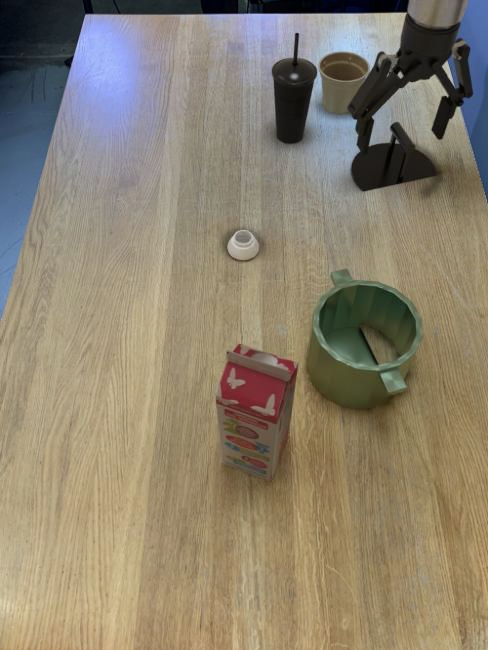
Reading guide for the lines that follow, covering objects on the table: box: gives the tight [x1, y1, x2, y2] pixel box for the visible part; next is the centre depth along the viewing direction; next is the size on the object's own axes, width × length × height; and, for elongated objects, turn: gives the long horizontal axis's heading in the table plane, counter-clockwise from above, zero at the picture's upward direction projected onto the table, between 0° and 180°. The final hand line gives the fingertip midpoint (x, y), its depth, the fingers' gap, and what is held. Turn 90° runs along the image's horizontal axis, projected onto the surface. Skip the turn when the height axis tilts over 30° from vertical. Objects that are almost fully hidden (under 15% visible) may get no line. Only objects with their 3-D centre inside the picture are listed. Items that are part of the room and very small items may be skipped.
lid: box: [350, 121, 438, 192], centre depth 102 cm, size 15×15×9 cm
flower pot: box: [317, 50, 371, 115], centre depth 113 cm, size 9×9×9 cm
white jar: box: [226, 229, 260, 261], centre depth 95 cm, size 5×3×5 cm
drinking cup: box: [271, 32, 318, 145], centre depth 103 cm, size 8×8×20 cm
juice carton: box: [214, 343, 299, 483], centre depth 68 cm, size 7×7×22 cm
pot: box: [305, 268, 424, 410], centre depth 80 cm, size 14×19×10 cm
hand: (399, 142), depth 100 cm, fingers open, 13 cm apart
